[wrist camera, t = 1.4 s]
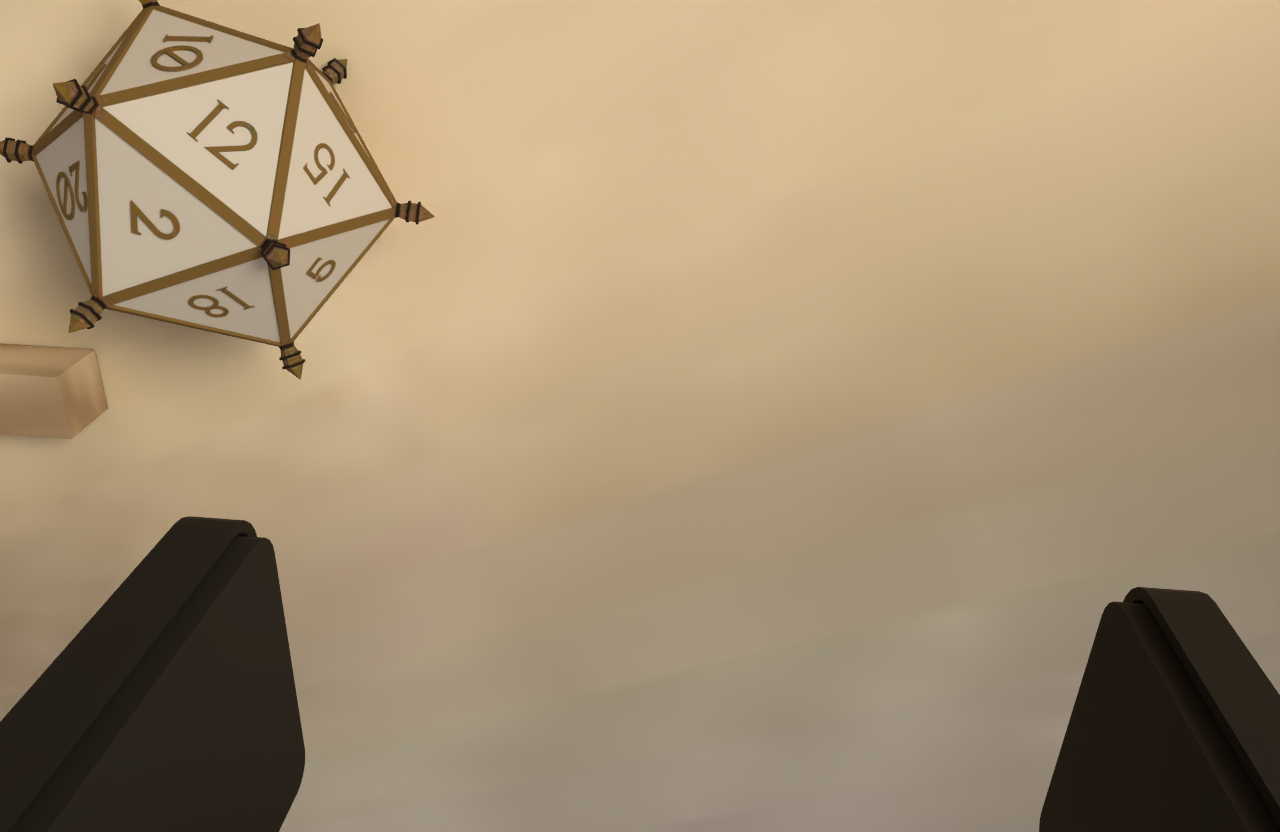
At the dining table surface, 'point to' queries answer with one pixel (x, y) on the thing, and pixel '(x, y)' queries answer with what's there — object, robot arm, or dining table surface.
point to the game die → (211, 180)
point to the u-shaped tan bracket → (48, 390)
